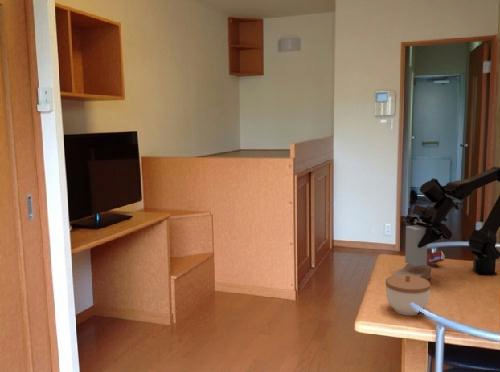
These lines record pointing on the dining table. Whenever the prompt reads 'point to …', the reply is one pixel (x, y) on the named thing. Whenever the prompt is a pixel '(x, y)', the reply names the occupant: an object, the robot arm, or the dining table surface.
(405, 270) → the brick
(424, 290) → the lidded bowl
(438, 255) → the geometric puzzle
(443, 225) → the robot arm
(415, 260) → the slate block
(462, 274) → the dining table surface
